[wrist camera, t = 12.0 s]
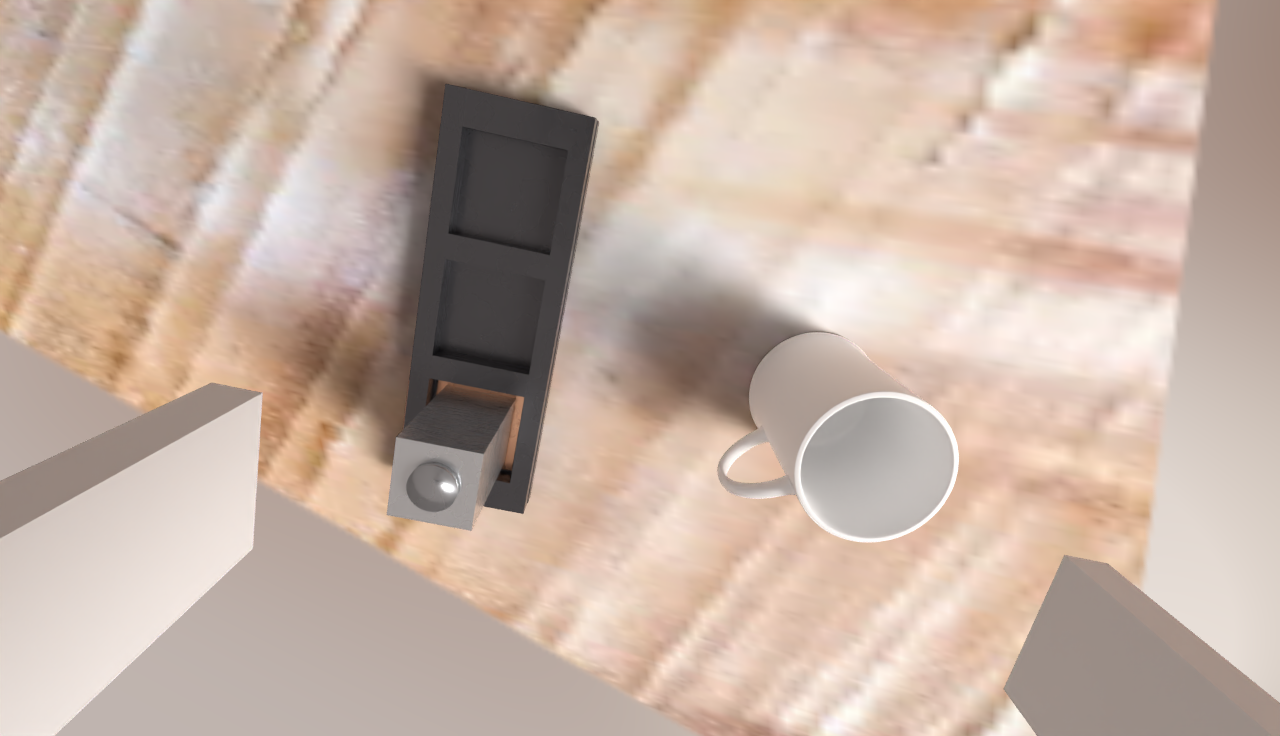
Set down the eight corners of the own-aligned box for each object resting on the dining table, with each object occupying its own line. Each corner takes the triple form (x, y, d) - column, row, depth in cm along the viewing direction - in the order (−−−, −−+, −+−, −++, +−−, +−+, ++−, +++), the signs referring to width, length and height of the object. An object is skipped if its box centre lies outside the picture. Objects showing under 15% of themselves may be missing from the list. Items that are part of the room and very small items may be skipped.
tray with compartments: (456, 89, 38) (443, 83, 35) (599, 122, 38) (596, 118, 36) (407, 472, 44) (394, 489, 42) (530, 496, 45) (523, 513, 42)
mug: (720, 480, 45) (749, 583, 33) (686, 367, 42) (704, 434, 31) (888, 433, 44) (977, 521, 32) (861, 315, 42) (948, 364, 30)
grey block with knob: (446, 385, 41) (392, 440, 32) (515, 398, 42) (481, 458, 33) (437, 448, 43) (383, 519, 34) (504, 461, 43) (469, 535, 34)
